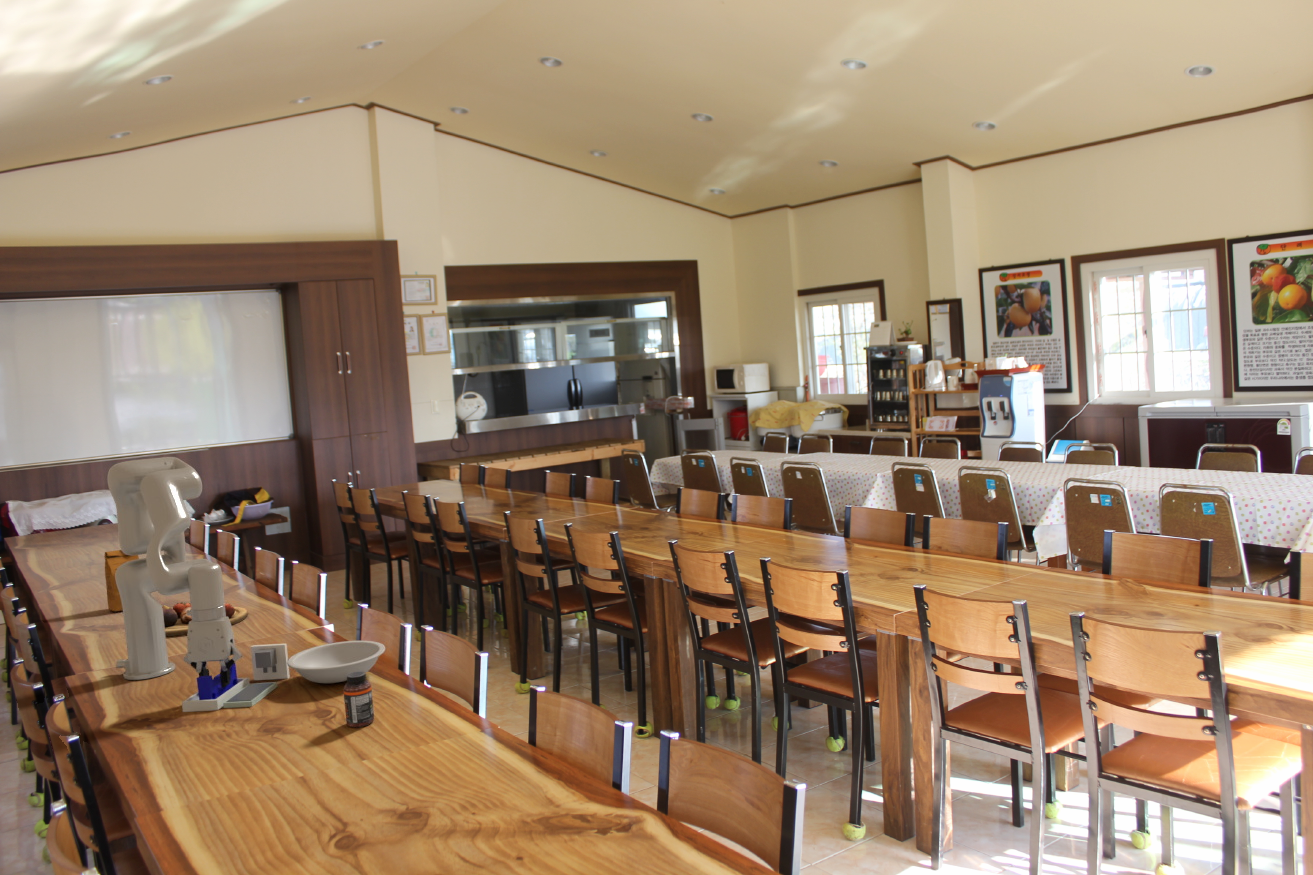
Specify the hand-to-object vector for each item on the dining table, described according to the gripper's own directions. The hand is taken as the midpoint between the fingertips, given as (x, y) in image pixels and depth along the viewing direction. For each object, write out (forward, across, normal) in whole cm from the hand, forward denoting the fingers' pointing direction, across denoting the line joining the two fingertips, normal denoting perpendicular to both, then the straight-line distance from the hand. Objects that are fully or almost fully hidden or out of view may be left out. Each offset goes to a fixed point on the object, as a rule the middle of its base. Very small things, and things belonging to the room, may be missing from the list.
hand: (215, 685), depth 235 cm
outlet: (+3, +8, +12) cm, 15 cm away
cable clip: (+2, 0, 0) cm, 2 cm away
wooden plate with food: (+5, -46, +78) cm, 91 cm away
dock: (+3, 0, 0) cm, 3 cm away
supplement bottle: (+3, +44, -22) cm, 49 cm away
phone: (+3, +9, 0) cm, 9 cm away
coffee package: (+4, -86, +106) cm, 136 cm away
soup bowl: (+4, +27, +11) cm, 29 cm away
